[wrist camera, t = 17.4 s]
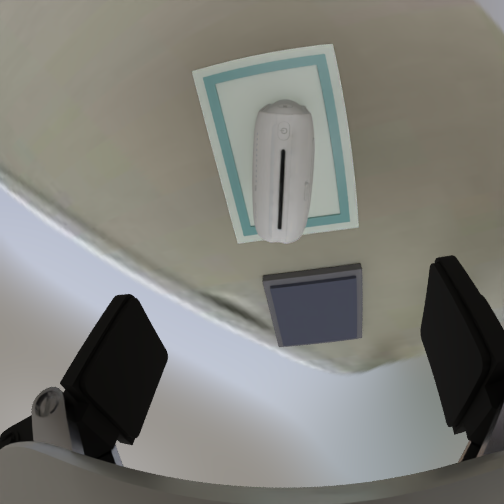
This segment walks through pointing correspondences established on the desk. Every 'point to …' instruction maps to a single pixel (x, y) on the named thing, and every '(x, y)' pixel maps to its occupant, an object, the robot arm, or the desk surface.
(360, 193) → the desk surface
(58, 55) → the desk surface
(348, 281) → the ink pad
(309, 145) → the photo printer
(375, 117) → the desk surface
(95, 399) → the robot arm
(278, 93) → the teal bordered white mat
